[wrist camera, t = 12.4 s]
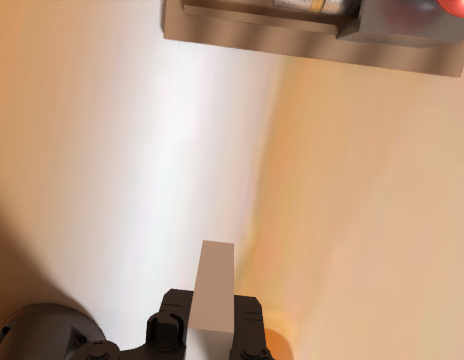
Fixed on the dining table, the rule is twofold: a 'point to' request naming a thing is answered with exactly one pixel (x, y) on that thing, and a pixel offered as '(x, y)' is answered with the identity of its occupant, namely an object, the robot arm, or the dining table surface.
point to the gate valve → (407, 23)
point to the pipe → (323, 6)
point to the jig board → (297, 35)
